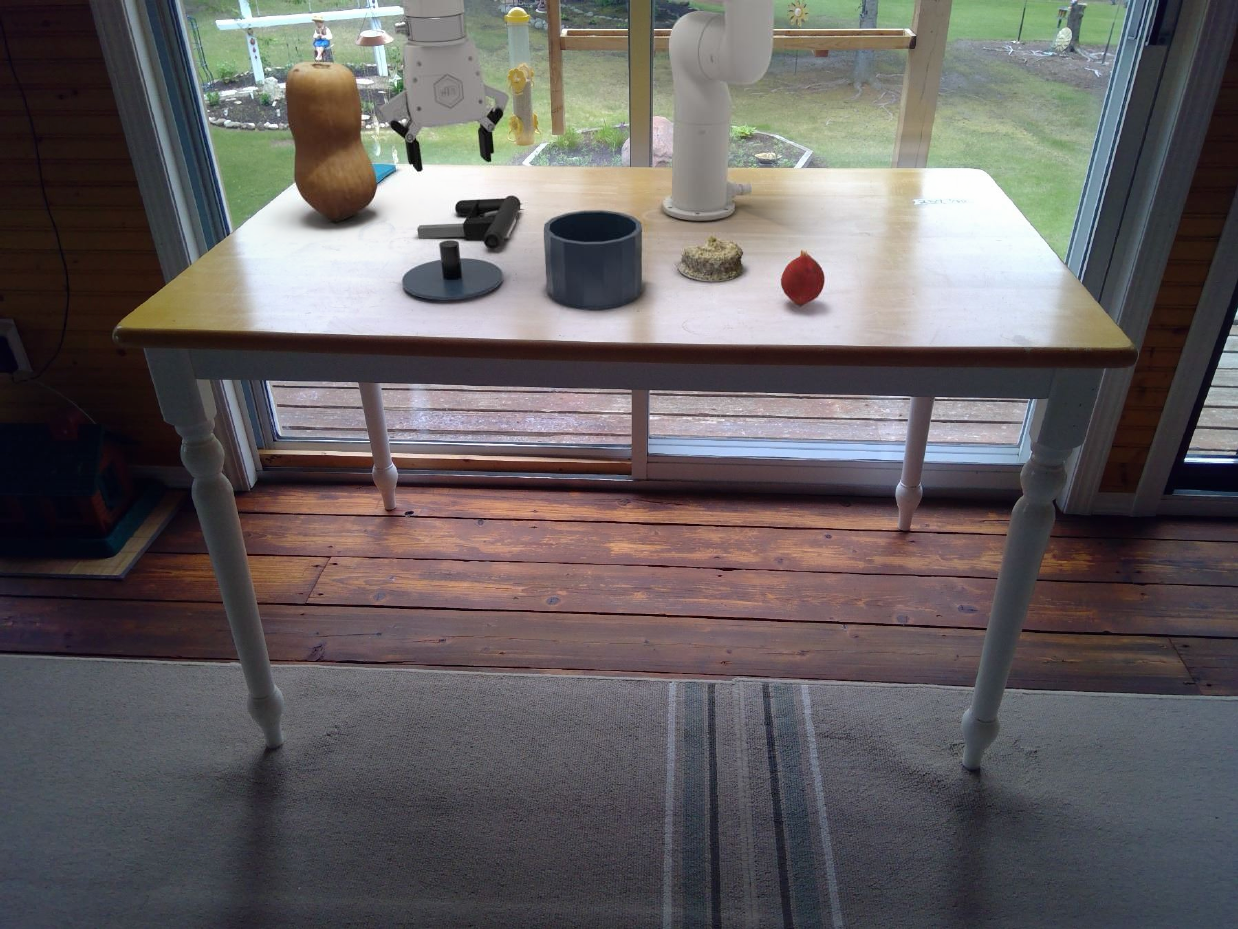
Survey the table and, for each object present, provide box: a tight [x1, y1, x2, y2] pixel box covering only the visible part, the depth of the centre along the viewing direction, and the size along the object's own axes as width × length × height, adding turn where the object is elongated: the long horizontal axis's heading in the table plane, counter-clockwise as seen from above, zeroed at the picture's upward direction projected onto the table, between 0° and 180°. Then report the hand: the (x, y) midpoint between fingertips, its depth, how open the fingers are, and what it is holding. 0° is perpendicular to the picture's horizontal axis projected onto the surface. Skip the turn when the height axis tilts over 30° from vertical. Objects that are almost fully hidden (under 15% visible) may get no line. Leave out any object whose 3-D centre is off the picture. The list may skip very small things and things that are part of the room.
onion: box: [780, 249, 826, 307], centre depth 128 cm, size 6×6×8 cm
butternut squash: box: [284, 61, 378, 223], centre depth 156 cm, size 14×13×25 cm
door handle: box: [416, 195, 525, 250], centre depth 156 cm, size 3×20×16 cm
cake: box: [677, 235, 744, 283], centre depth 140 cm, size 10×10×5 cm
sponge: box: [372, 163, 397, 184], centre depth 182 cm, size 2×12×6 cm
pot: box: [543, 209, 643, 311], centre depth 133 cm, size 14×14×10 cm
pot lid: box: [401, 239, 504, 301], centre depth 137 cm, size 15×15×6 cm
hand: (452, 164), depth 129 cm, fingers open, 9 cm apart
